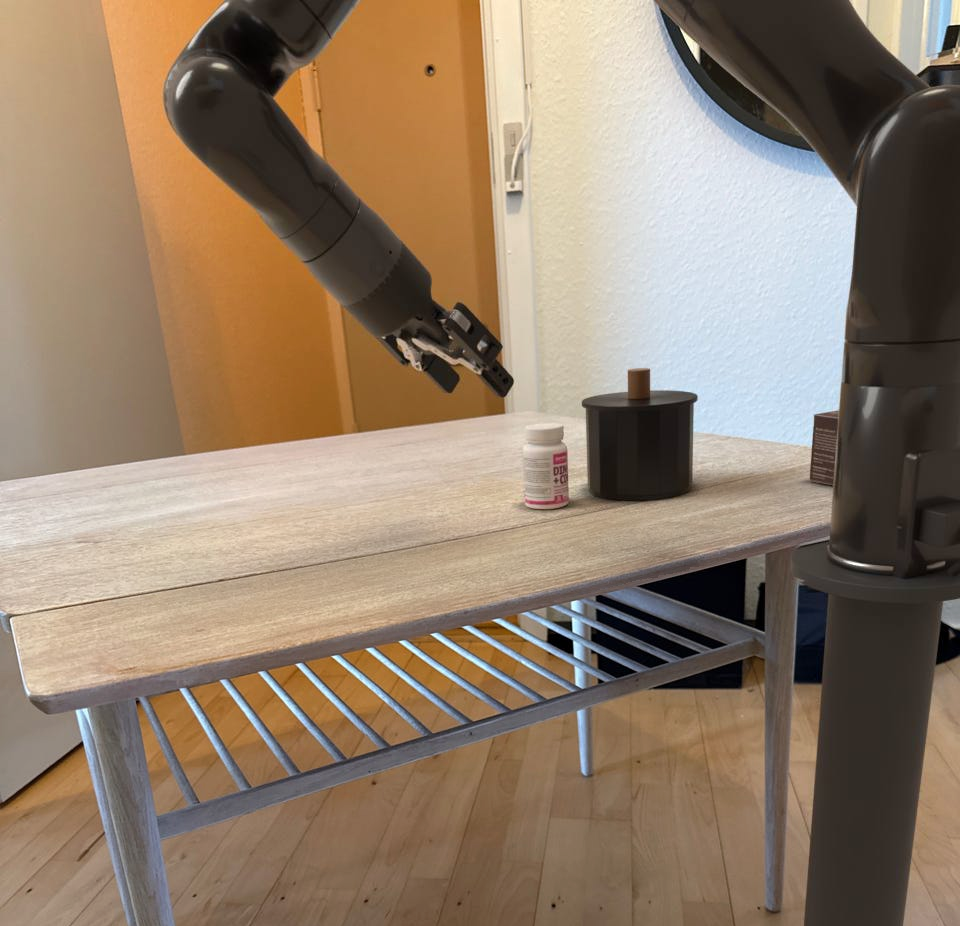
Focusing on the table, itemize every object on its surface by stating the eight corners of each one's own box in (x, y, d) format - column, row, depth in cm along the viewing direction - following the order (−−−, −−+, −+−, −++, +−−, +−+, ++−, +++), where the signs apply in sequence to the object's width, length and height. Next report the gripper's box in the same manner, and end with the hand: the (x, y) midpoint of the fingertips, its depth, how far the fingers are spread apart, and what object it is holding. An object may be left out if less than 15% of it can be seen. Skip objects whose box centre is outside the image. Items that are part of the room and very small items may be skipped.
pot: (712, 489, 100) (714, 401, 97) (622, 506, 96) (621, 414, 93) (654, 473, 110) (654, 392, 107) (570, 487, 106) (567, 403, 103)
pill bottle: (563, 510, 96) (560, 429, 93) (519, 509, 98) (515, 430, 95) (573, 499, 100) (571, 421, 97) (532, 499, 102) (528, 422, 99)
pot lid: (721, 406, 97) (722, 366, 95) (620, 421, 92) (619, 379, 91) (655, 397, 107) (655, 360, 106) (561, 409, 103) (560, 371, 102)
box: (849, 473, 103) (854, 406, 100) (892, 481, 98) (899, 411, 95) (807, 481, 101) (812, 413, 98) (850, 490, 96) (855, 419, 93)
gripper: (436, 226, 74) (547, 358, 85) (347, 240, 85) (455, 355, 95) (388, 300, 73) (506, 425, 84) (304, 305, 84) (418, 414, 94)
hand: (479, 388), depth 90 cm, fingers open, 8 cm apart
